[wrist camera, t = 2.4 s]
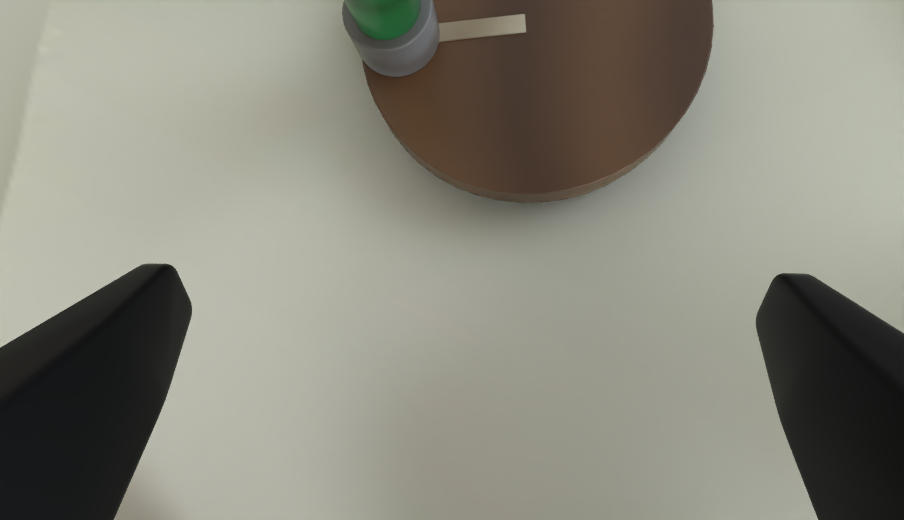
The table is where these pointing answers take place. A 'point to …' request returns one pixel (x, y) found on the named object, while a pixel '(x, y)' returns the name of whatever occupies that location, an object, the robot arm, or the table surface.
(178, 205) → the table surface
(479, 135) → the disc
